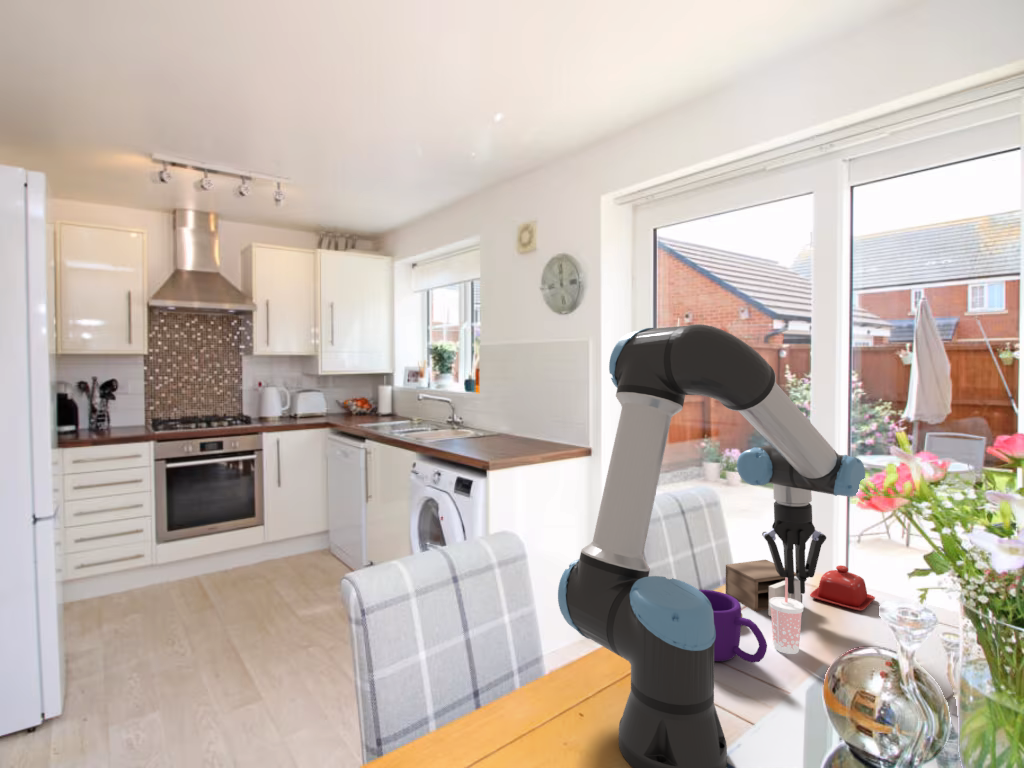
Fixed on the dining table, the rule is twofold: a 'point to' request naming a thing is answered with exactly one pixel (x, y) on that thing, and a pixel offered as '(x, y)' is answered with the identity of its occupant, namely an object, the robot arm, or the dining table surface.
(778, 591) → the door
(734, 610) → the mug
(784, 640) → the beverage cup
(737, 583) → the cabinet
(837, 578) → the butter dish
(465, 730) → the dining table surface
